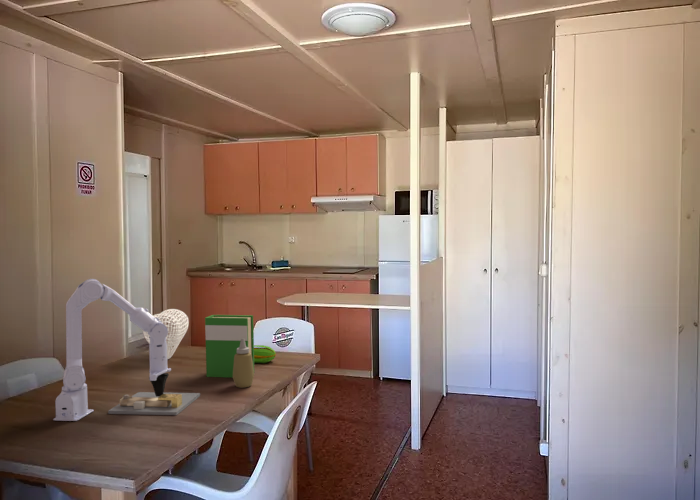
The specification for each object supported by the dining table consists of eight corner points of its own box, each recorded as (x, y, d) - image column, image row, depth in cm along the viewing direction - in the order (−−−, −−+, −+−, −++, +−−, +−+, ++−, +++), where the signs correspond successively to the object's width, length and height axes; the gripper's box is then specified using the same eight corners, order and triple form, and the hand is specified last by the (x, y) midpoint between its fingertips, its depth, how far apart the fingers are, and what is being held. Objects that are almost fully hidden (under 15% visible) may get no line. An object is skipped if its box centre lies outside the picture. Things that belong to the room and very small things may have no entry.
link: (118, 405, 178) (118, 396, 178) (124, 402, 181) (124, 393, 181) (166, 407, 176) (166, 398, 176) (171, 403, 179) (171, 394, 179)
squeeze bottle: (233, 389, 198) (232, 341, 197) (232, 383, 206) (231, 337, 205) (255, 387, 200) (254, 340, 199) (253, 382, 208) (252, 336, 207)
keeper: (177, 407, 175) (176, 397, 175) (158, 407, 176) (157, 397, 176) (182, 403, 179) (181, 394, 179) (163, 403, 180) (163, 393, 180)
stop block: (142, 409, 175) (142, 403, 175) (133, 408, 175) (133, 402, 175) (145, 407, 177) (145, 401, 177) (136, 406, 177) (136, 400, 177)
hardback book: (254, 373, 221) (253, 315, 220) (248, 378, 214) (247, 318, 213) (213, 371, 224) (212, 314, 223) (206, 376, 217) (205, 317, 216)
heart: (173, 366, 233) (172, 316, 232) (138, 367, 233) (136, 316, 233) (193, 352, 261) (192, 306, 260) (162, 352, 261) (160, 307, 261)
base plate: (176, 415, 171) (176, 412, 171) (108, 413, 174) (108, 410, 174) (200, 395, 191) (200, 393, 191) (138, 394, 193) (138, 392, 193)
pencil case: (272, 347, 235) (229, 345, 238) (272, 364, 235) (229, 363, 238) (277, 344, 242) (235, 343, 246) (277, 361, 242) (235, 360, 245)
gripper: (164, 361, 177) (165, 402, 178) (175, 351, 192) (176, 389, 192) (142, 362, 177) (143, 402, 177) (155, 352, 191) (156, 389, 192)
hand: (159, 395), depth 185 cm, fingers closed
